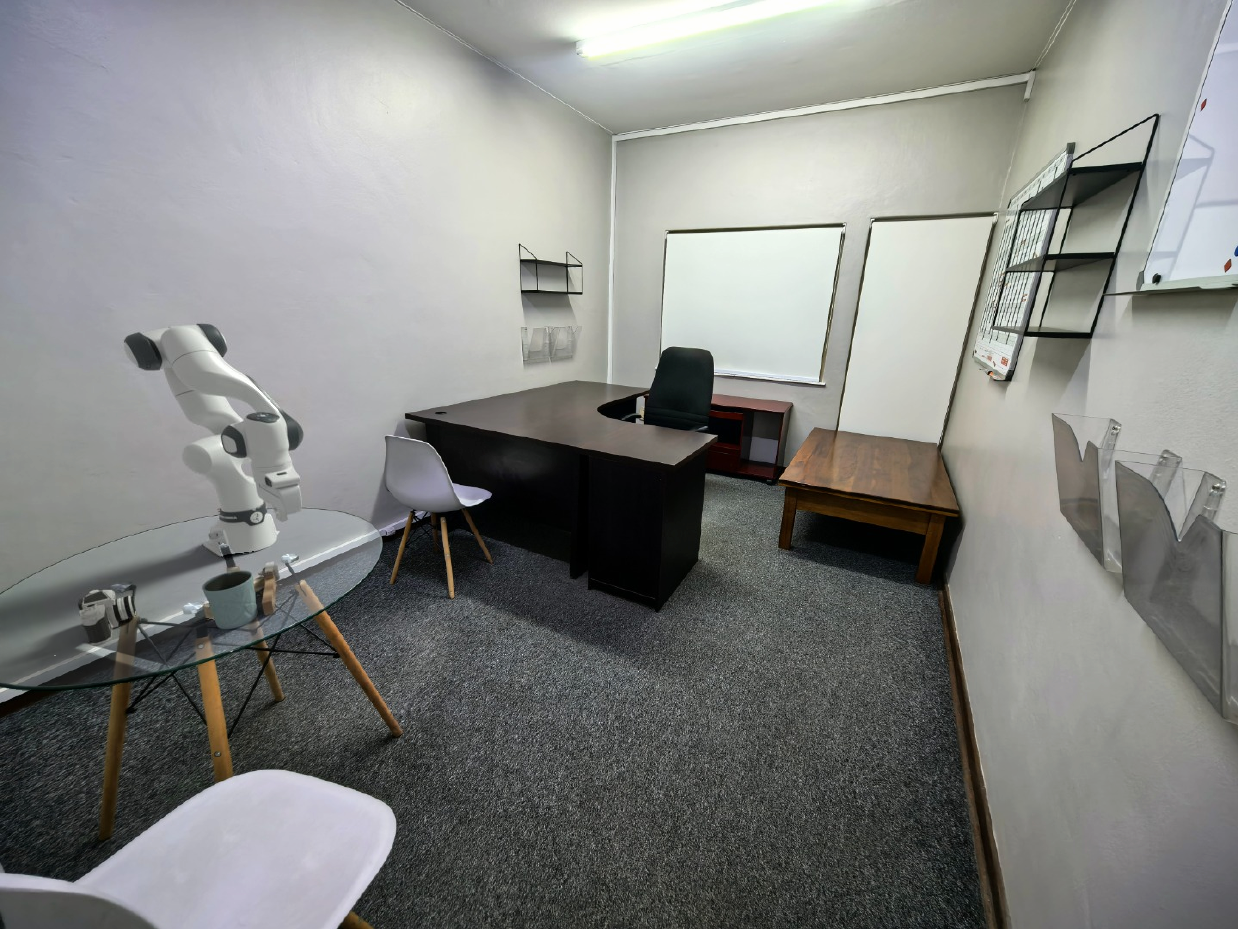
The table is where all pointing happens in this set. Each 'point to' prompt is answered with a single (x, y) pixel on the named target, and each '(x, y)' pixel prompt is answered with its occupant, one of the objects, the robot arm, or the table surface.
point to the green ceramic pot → (231, 598)
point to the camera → (104, 614)
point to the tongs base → (258, 585)
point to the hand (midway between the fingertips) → (282, 519)
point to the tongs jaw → (269, 590)
